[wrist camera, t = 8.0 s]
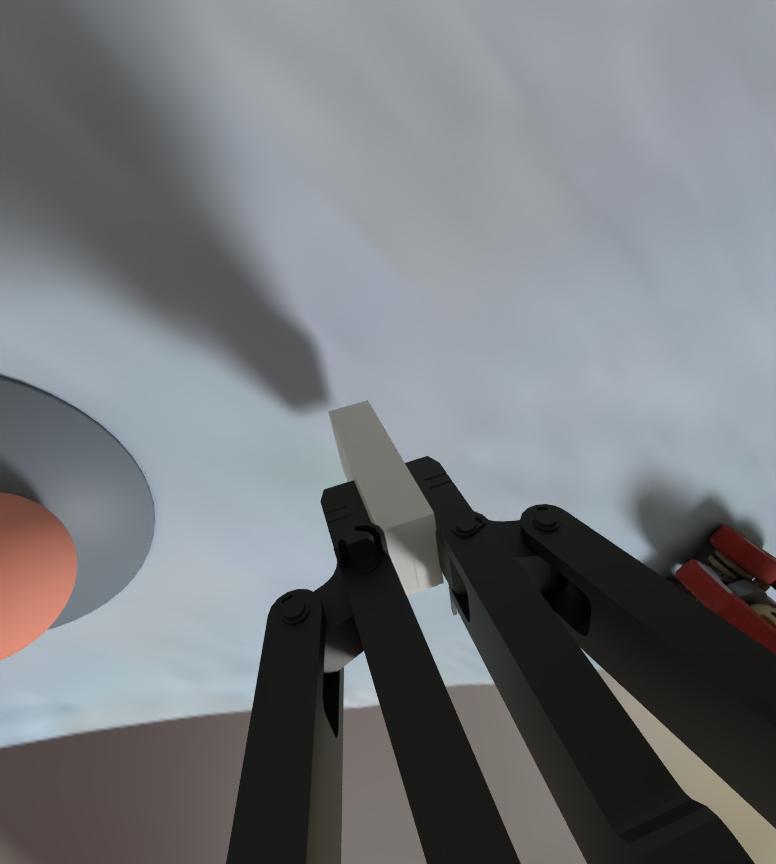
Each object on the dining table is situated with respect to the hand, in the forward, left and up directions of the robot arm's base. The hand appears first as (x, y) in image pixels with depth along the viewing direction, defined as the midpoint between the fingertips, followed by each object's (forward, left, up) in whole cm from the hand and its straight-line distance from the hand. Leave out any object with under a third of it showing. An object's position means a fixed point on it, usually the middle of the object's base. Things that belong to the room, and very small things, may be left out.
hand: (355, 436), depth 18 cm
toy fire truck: (+21, +23, -2) cm, 31 cm away
